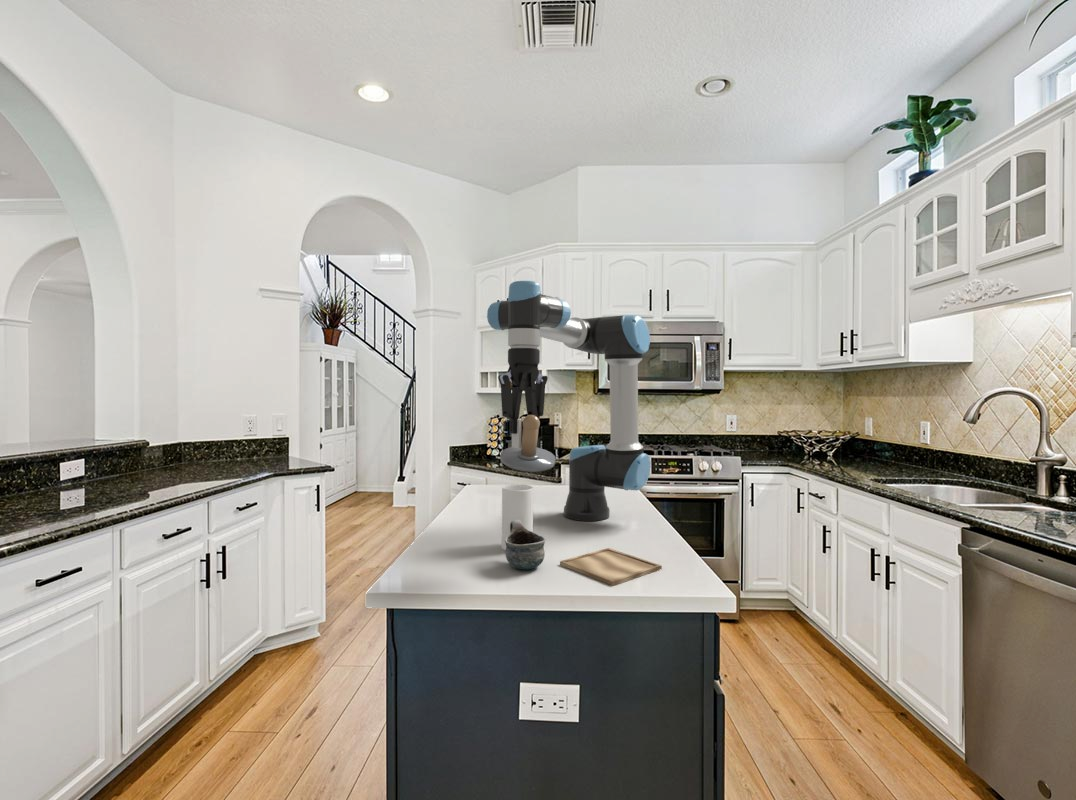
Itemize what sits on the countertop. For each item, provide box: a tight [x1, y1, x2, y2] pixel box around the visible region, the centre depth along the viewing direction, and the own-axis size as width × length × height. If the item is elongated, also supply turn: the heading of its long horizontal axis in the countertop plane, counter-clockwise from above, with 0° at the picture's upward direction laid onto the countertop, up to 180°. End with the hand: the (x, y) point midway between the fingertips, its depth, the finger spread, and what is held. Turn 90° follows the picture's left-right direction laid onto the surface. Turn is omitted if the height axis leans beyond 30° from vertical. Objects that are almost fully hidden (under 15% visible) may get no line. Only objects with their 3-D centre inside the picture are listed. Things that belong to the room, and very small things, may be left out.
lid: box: [499, 415, 557, 473], centre depth 126 cm, size 13×13×11 cm
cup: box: [501, 484, 534, 551], centre depth 143 cm, size 8×8×16 cm
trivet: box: [559, 547, 663, 587], centre depth 129 cm, size 17×17×1 cm
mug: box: [505, 520, 547, 570], centre depth 129 cm, size 10×12×10 cm
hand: (522, 446), depth 128 cm, fingers closed on lid, 3 cm apart
